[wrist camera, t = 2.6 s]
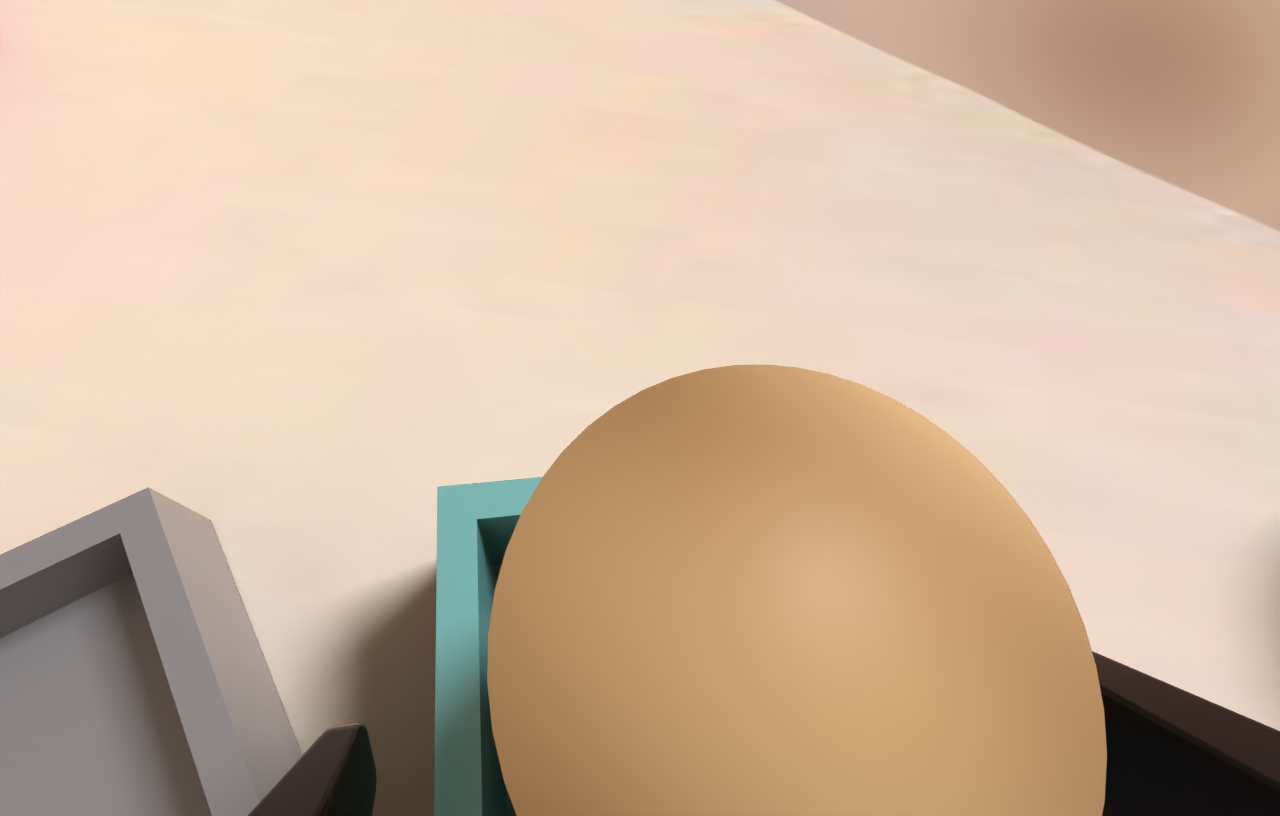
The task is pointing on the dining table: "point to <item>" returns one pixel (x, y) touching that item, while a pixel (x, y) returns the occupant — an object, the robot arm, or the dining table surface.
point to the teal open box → (469, 642)
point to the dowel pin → (786, 618)
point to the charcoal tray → (133, 672)
